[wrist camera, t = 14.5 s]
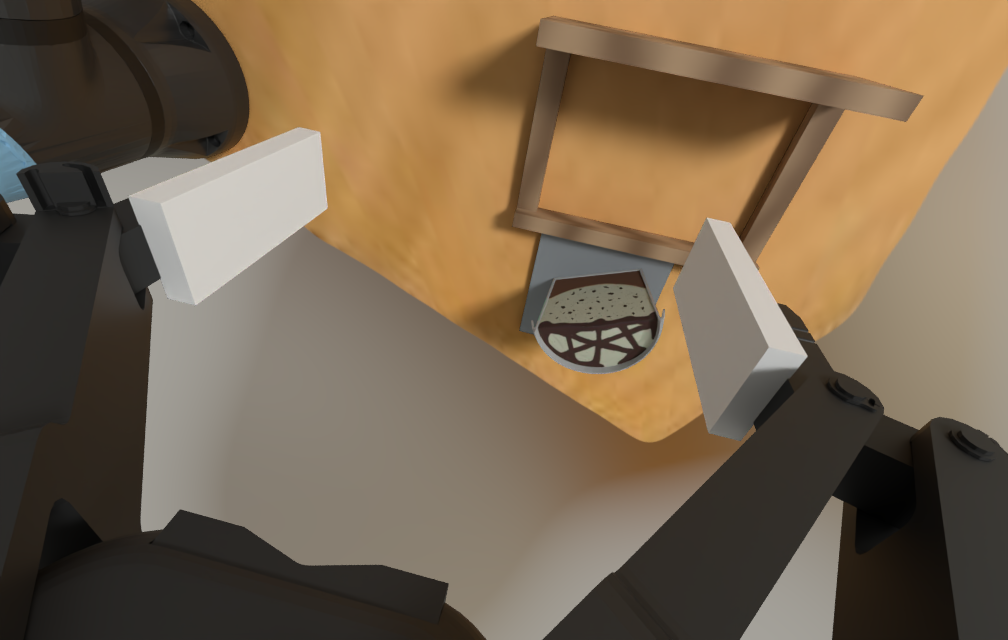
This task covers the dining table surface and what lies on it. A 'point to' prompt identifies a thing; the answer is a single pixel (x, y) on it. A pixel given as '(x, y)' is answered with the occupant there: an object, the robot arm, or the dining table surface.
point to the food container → (599, 321)
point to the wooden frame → (704, 64)
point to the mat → (583, 270)
